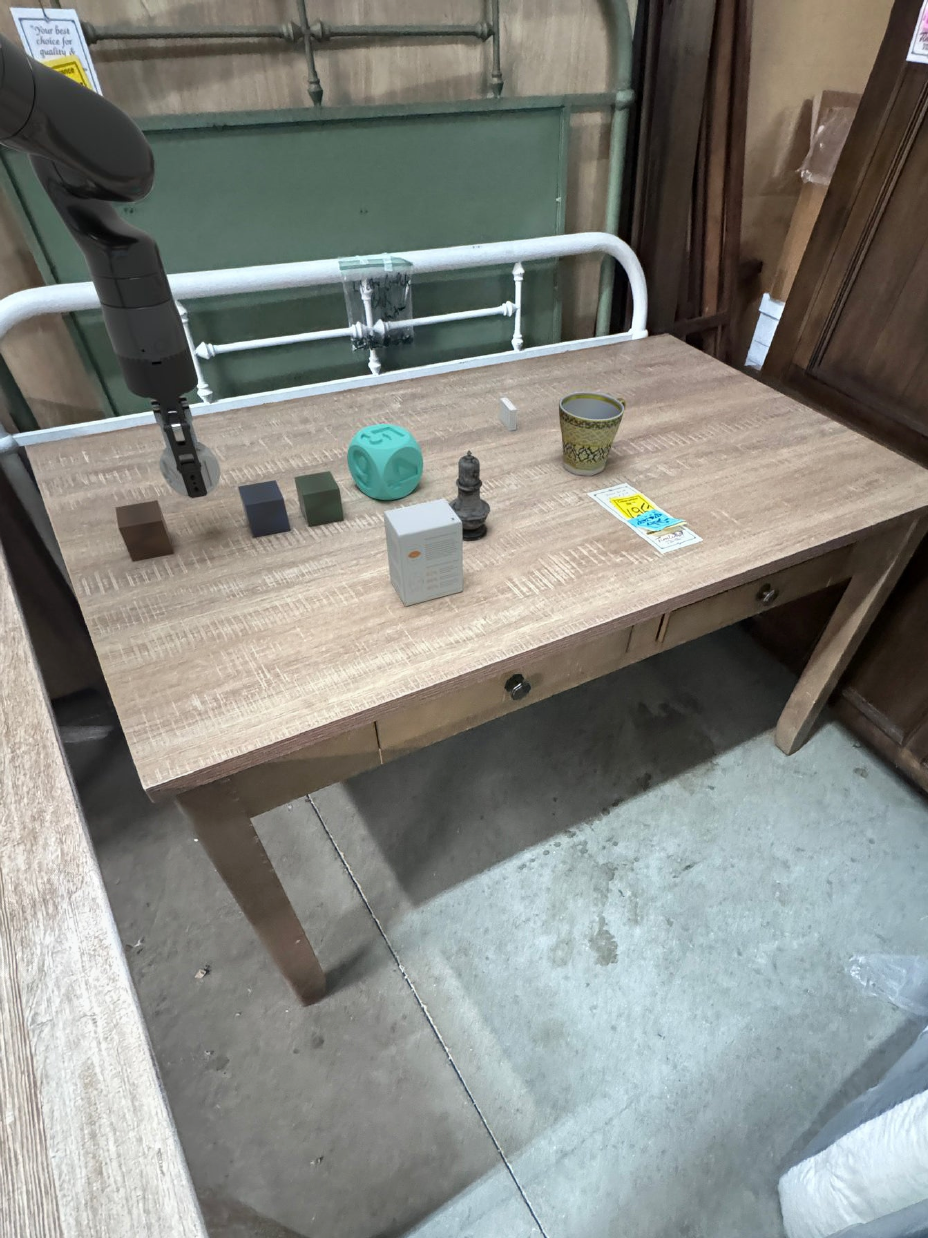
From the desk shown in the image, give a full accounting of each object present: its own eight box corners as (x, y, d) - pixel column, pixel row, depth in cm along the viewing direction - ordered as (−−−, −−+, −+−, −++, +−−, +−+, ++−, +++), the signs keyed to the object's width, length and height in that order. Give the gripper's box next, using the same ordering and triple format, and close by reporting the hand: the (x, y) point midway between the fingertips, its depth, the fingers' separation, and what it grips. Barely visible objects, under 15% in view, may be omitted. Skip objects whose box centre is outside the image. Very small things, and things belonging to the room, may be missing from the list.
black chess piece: (458, 545, 94) (457, 465, 85) (441, 523, 97) (439, 444, 89) (496, 536, 96) (499, 456, 87) (478, 515, 99) (480, 436, 91)
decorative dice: (425, 487, 104) (423, 437, 98) (384, 506, 100) (379, 455, 94) (391, 467, 107) (387, 418, 101) (349, 485, 103) (343, 434, 97)
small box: (447, 567, 90) (445, 496, 83) (464, 592, 87) (464, 520, 79) (389, 581, 88) (381, 509, 80) (404, 607, 84) (398, 535, 77)
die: (193, 501, 85) (181, 464, 81) (166, 488, 86) (153, 451, 83) (225, 484, 88) (215, 448, 84) (198, 472, 89) (187, 436, 86)
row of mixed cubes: (132, 561, 87) (118, 527, 84) (129, 540, 91) (115, 507, 87) (344, 519, 97) (339, 488, 93) (334, 502, 100) (329, 470, 96)
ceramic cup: (583, 488, 106) (592, 426, 99) (540, 462, 111) (545, 401, 104) (638, 464, 113) (650, 404, 105) (595, 440, 118) (604, 381, 110)
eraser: (505, 417, 122) (506, 397, 119) (515, 430, 119) (517, 409, 116) (499, 418, 121) (499, 397, 119) (509, 431, 118) (510, 410, 116)
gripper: (108, 323, 78) (156, 459, 90) (117, 372, 69) (169, 516, 81) (178, 316, 80) (216, 450, 92) (196, 363, 71) (235, 504, 83)
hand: (194, 480), depth 86 cm, fingers closed on die, 7 cm apart
